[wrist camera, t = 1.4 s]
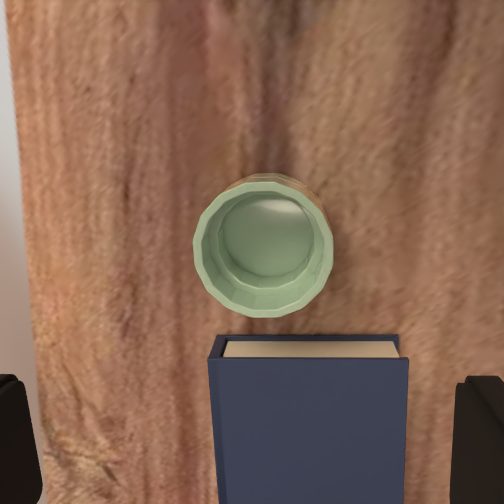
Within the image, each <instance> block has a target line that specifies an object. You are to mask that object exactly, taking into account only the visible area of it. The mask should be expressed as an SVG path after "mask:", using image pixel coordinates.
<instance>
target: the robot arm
mask: <svg viewBox="0 0 504 504" xmlns="http://www.w3.org/2000/svg"><path fill="white" fill-rule="evenodd" d="M42 486H43V483H42V477H41V471H40V466H39V460H38V455H37V450H36V444H35V439H34V434H33V428H32V423H31V417H30V411H29V406H28V400H27V395H26V390H25V386H24V384H23V382H21V381H18V378H17V377H16V376H15V375H13V374H0V504H37V502H38V501H39V499H40V496H41V493H42ZM450 504H504V382H503V381H502V380H501V378H500V377H498V376H467V377H466V380H465V383H458V384H457V386H456V392H455V409H454V427H453V444H452V461H451V478H450Z"/></svg>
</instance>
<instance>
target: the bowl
mask: <svg viewBox="0 0 504 504" xmlns="http://www.w3.org/2000/svg"><path fill="white" fill-rule="evenodd" d="M193 253H194V265H195V269H196V271H197V273H198V275H199V277H200V279H201V280H202V282H203V284H204V286H205V288H206V290H207V291H208V292H209V293H210V294H211V295H212V296H213V297H214V298H216V299H217V300H218V301H219V302H220V303H221V304H222V305H224V306H225V307H226V308H227V309H230V310H232V311H235V312H238V313H240V314H243V315H246V316H248V317H252V318H278V317H282V316H284V315H287V314H289V313H292V312H294V311H297V310H299V309H302V308H303V307H305V306H306V305H307V304H308V303H309V302H310V301H311V300H312V299H313V298H314V297H315V296H316V295H317V294H318V293H320V292H321V291H322V289H323V288H324V286H325V283H326V281H327V279H328V276H329V274H330V272H331V269H332V267H333V235H332V231H331V227H330V223H329V219H328V217H327V215H326V213H325V210H324V208H323V206H322V203H321V201H320V199H319V198H318V197H317V196H316V195H315V194H314V193H313V192H312V191H311V190H310V189H309V188H308V187H307V186H306V185H305V184H303V183H302V182H300V181H299V180H296V179H293V178H291V177H288V176H285V175H283V174H280V173H278V174H277V173H258V174H251V175H249V176H247V177H245V178H243V179H241V180H238V181H236V182H234V183H232V184H231V185H230V186H228V187H227V188H226V189H225V190H224V191H223V192H222V193H221V194H220V195H218V197H217V198H216V199H215V200H214V201H213V202H212V203H211V204H210V205H209V207H208V208H207V209H206V210H205V211H204V212H203V213H202V215H201V216H200V219H199V222H198V225H197V228H196V231H195V234H194V237H193Z"/></svg>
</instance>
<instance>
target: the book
mask: <svg viewBox="0 0 504 504" xmlns="http://www.w3.org/2000/svg"><path fill="white" fill-rule="evenodd" d="M398 338H399V337H398V335H217V336H216V339H215V342H214V345H213V347H212V350H211V352H210V355H209V357H208V359H207V362H208V374H209V387H210V399H211V411H212V424H213V436H214V449H215V461H216V474H217V486H218V499H219V504H403V497H404V471H405V446H406V420H407V394H408V369H409V359H408V358H403V357H399V355H398Z"/></svg>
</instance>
